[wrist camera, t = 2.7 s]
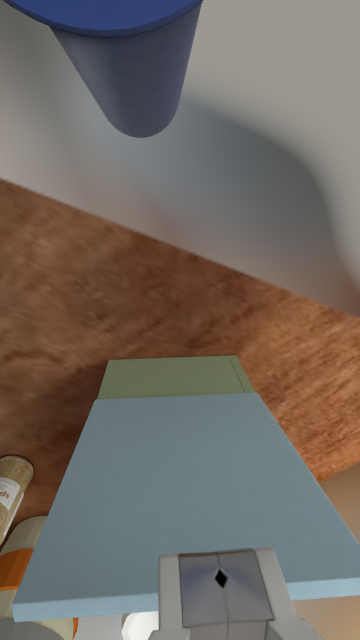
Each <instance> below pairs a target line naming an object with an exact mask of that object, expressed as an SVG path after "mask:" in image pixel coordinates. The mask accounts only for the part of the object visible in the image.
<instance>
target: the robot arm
mask: <svg viewBox="0 0 360 640" xmlns="http://www.w3.org/2000/svg"><path fill="white" fill-rule="evenodd" d="M158 621H159V630H153V631H152V632H151V634H150V636H149V638H148V640H323V639H322V637H321V636H320V635H319V634H318V633H317V632H316V631H315V630H314V629H313V628H312V627H311V626H310V625H309V623H308V622H307V621H306V620H305V619H304V618H297V615H296V612H295V609H294V607H293V604H292V601H291V598H290V595H289V592H288V589H287V586H286V583H285V580H284V577H283V574H282V571H281V568H280V566H279V563H278V560H277V557H276V554H275V551H274V550H273V549H272V547H263V548H253V549H252V548H243V549H232V550H221V551H215V552H199V553H179V554H178V553H176V554H162V555H159V560H158Z"/></svg>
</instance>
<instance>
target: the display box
mask: <svg viewBox="0 0 360 640" xmlns="http://www.w3.org/2000/svg"><path fill="white" fill-rule="evenodd" d="M237 393H255V392H254V390H253V388H252V386H251V384H250V382H249V380H248V378H247V376H246V374H245V372H244V370H243V368H242V366H241V364H240V362H239V360H238V358H237V356H236V355H230V356H203V357H175V358H148V359H120V360H109V361H108V364H107V367H106V371H105V374H104V377H103V381H102V384H101V387H100V391H99V394H98V397H97V399H120V398H144V397H167V396H190V395H213V394H237Z"/></svg>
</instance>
